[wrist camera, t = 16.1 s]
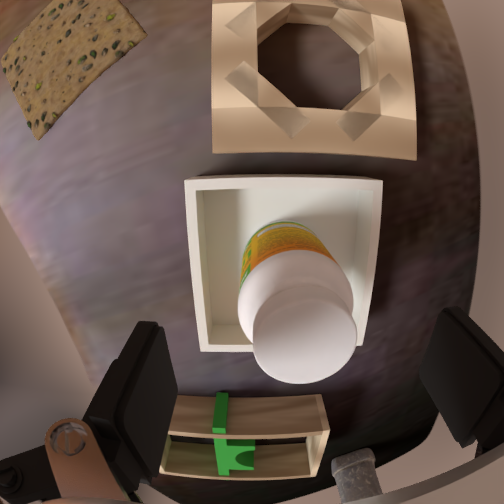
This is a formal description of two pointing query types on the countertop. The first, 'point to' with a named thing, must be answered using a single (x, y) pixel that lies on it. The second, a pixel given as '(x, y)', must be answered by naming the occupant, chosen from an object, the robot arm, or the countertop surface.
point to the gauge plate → (313, 119)
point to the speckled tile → (66, 55)
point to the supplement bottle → (295, 304)
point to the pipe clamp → (230, 442)
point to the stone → (356, 475)
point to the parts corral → (249, 436)
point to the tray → (262, 213)
